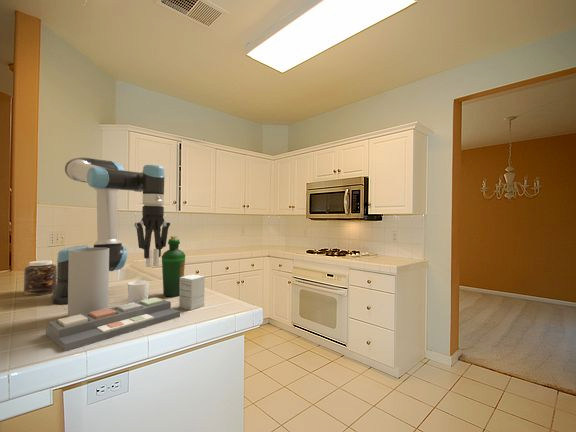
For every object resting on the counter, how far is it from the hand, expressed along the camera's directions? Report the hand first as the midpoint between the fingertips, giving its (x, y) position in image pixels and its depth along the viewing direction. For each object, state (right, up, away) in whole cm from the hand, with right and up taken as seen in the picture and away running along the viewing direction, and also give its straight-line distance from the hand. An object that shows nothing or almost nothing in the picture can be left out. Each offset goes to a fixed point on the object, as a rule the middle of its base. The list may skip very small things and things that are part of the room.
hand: (152, 266), depth 111 cm
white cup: (-10, -19, +9) cm, 23 cm away
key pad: (-6, -18, -11) cm, 23 cm away
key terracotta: (-10, -15, -14) cm, 23 cm away
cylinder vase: (-23, -18, -3) cm, 29 cm away
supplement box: (+12, -19, +10) cm, 24 cm away
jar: (-66, -18, +27) cm, 74 cm away
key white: (-15, -15, -21) cm, 30 cm away
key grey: (-5, -15, -7) cm, 17 cm away
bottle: (-3, -19, +27) cm, 33 cm away
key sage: (0, -15, 0) cm, 15 cm away
